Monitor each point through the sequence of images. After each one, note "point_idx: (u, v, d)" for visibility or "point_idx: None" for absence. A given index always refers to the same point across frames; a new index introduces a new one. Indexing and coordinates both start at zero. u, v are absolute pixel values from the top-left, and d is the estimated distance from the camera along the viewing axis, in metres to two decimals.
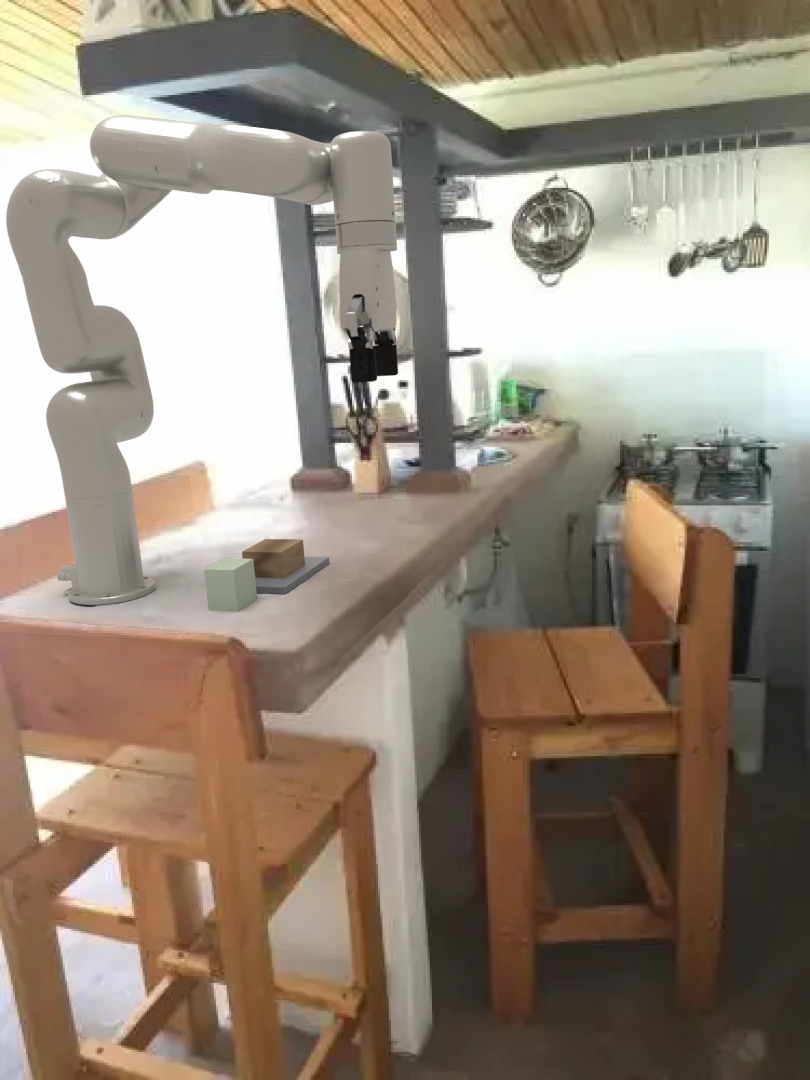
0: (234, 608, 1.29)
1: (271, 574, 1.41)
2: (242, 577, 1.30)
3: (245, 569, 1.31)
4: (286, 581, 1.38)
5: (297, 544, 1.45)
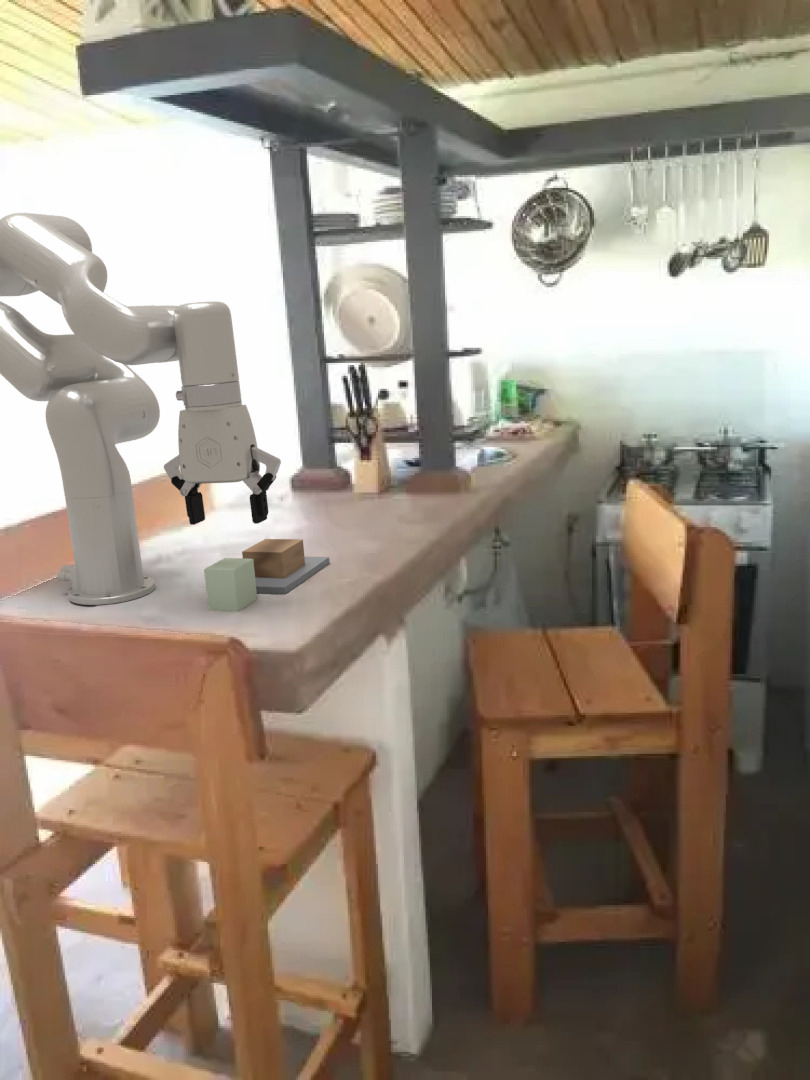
0: (234, 608, 1.29)
1: (271, 574, 1.41)
2: (242, 577, 1.30)
3: (245, 569, 1.31)
4: (286, 581, 1.38)
5: (297, 544, 1.45)
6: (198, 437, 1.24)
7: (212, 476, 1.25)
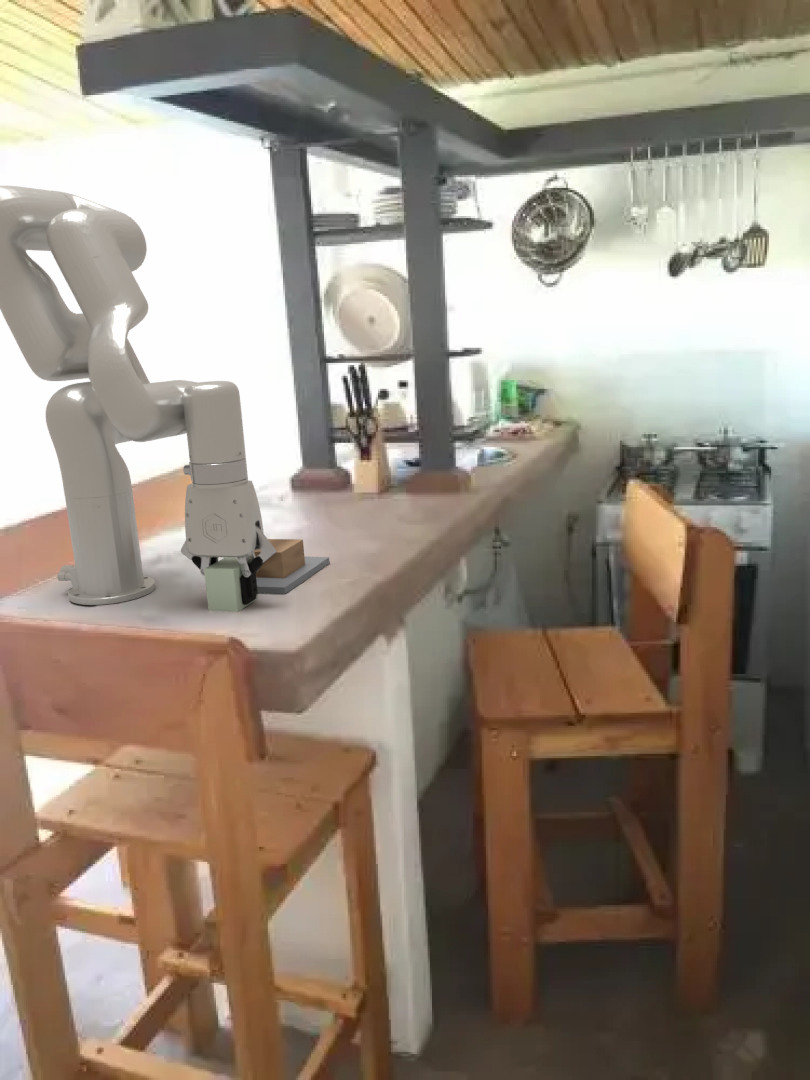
0: (234, 608, 1.29)
1: (271, 574, 1.41)
2: None
3: None
4: (286, 581, 1.38)
5: (297, 544, 1.45)
6: (204, 513, 1.27)
7: (217, 551, 1.28)
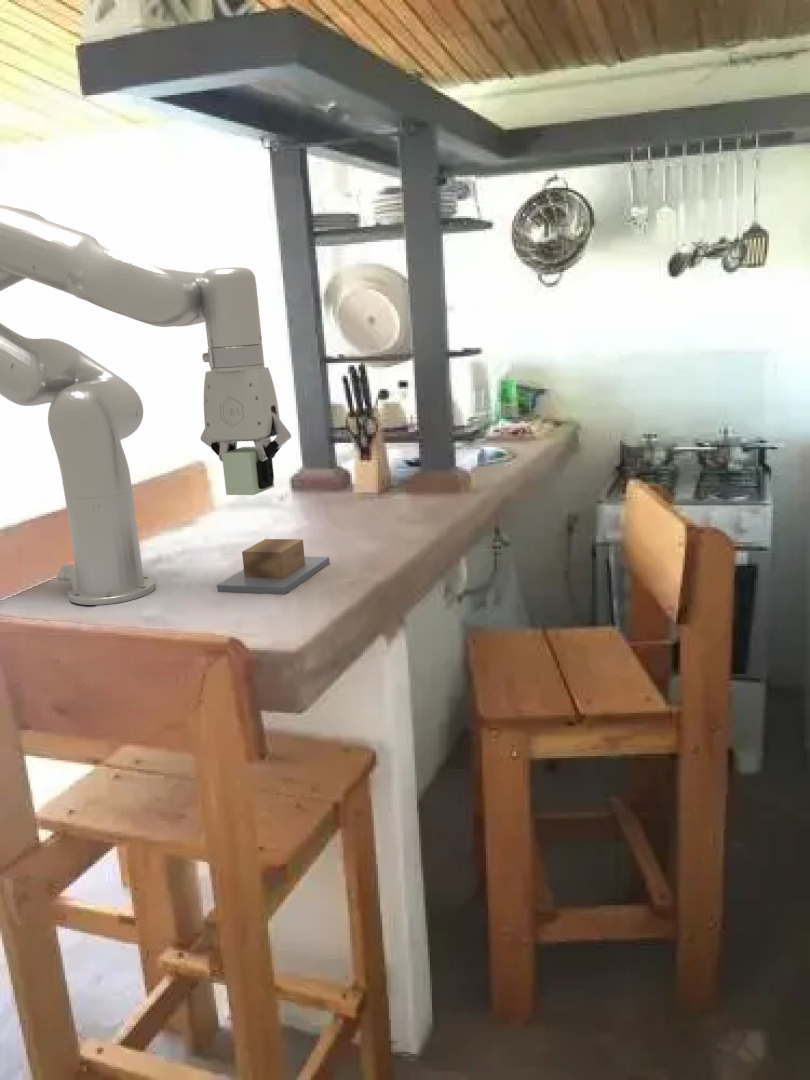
0: (250, 491, 1.32)
1: (271, 574, 1.41)
2: None
3: None
4: (286, 581, 1.38)
5: (297, 544, 1.45)
6: (222, 397, 1.31)
7: (234, 434, 1.31)
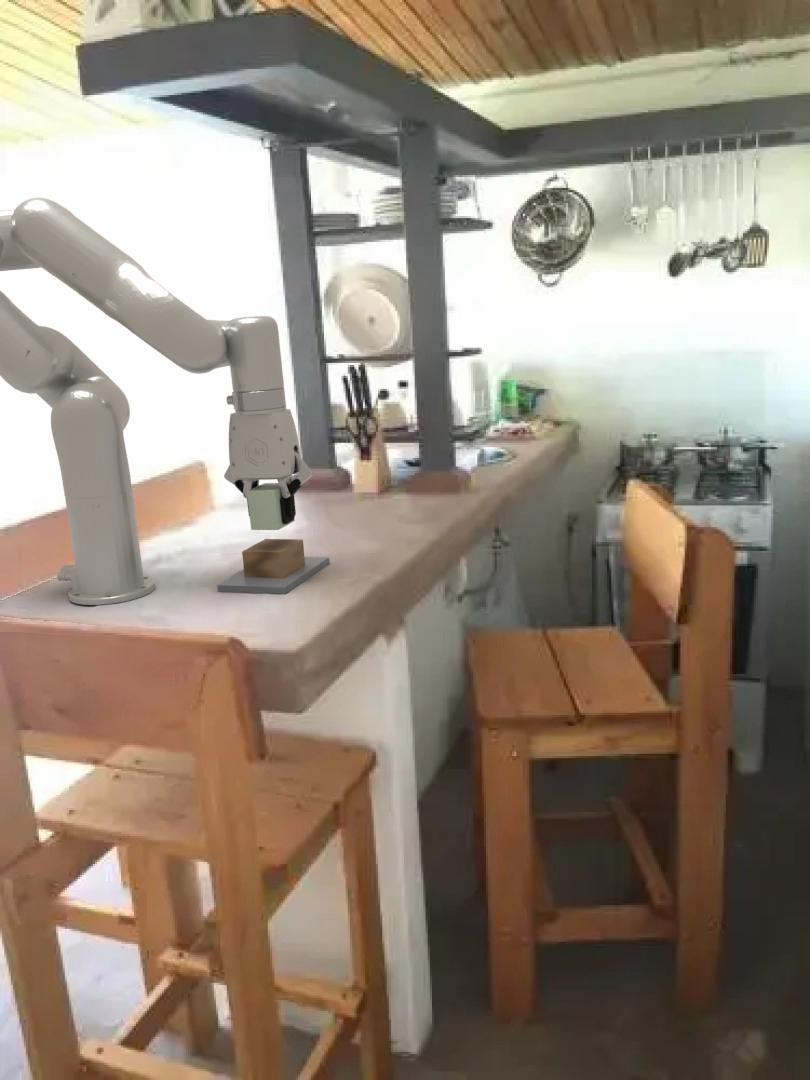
0: (275, 526, 1.40)
1: (271, 574, 1.41)
2: None
3: None
4: (286, 581, 1.38)
5: (297, 544, 1.45)
6: (247, 438, 1.38)
7: (259, 473, 1.39)
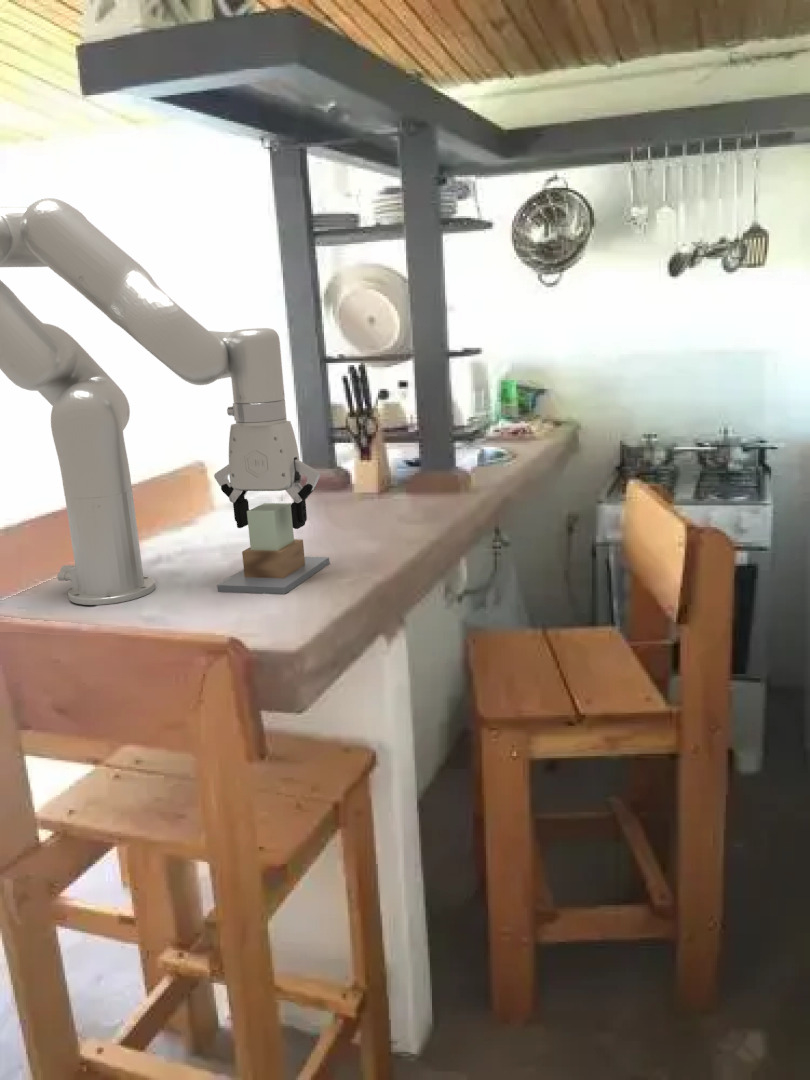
0: (274, 547, 1.40)
1: (271, 574, 1.41)
2: (281, 519, 1.42)
3: (284, 512, 1.42)
4: (286, 581, 1.38)
5: (297, 544, 1.45)
6: (247, 449, 1.38)
7: (259, 485, 1.39)
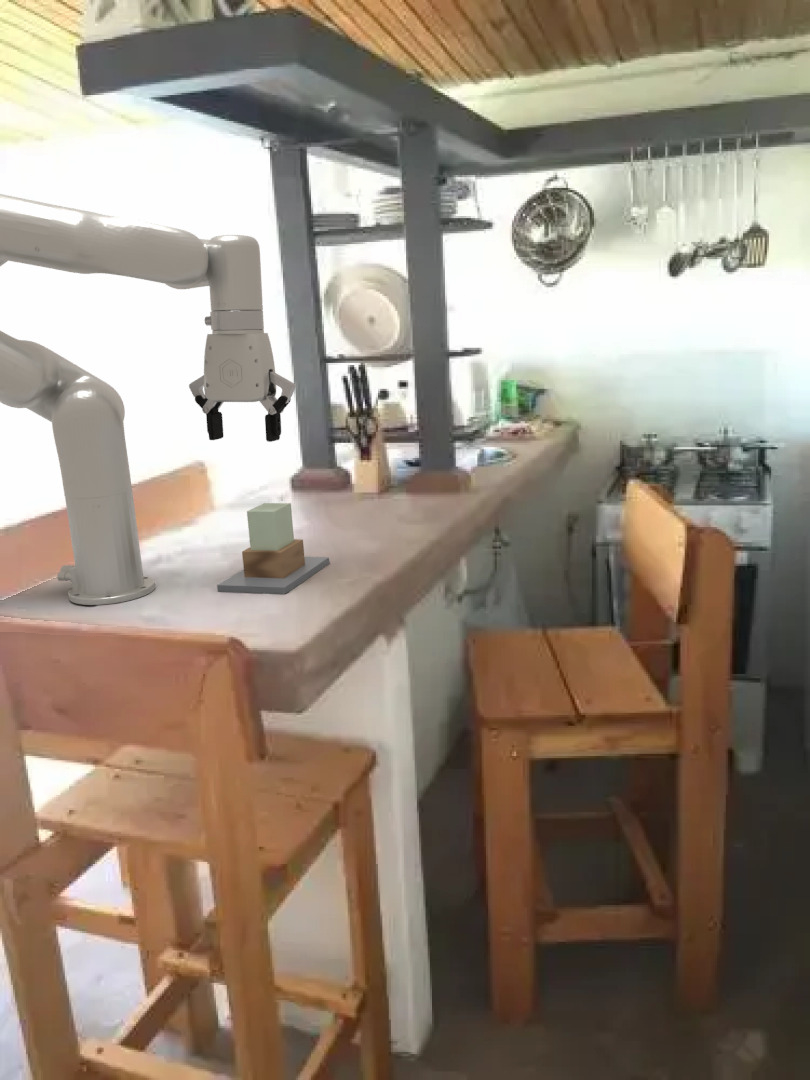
0: (274, 547, 1.40)
1: (271, 574, 1.41)
2: (281, 519, 1.42)
3: (284, 512, 1.42)
4: (286, 581, 1.38)
5: (297, 544, 1.45)
6: (222, 359, 1.37)
7: (232, 395, 1.37)
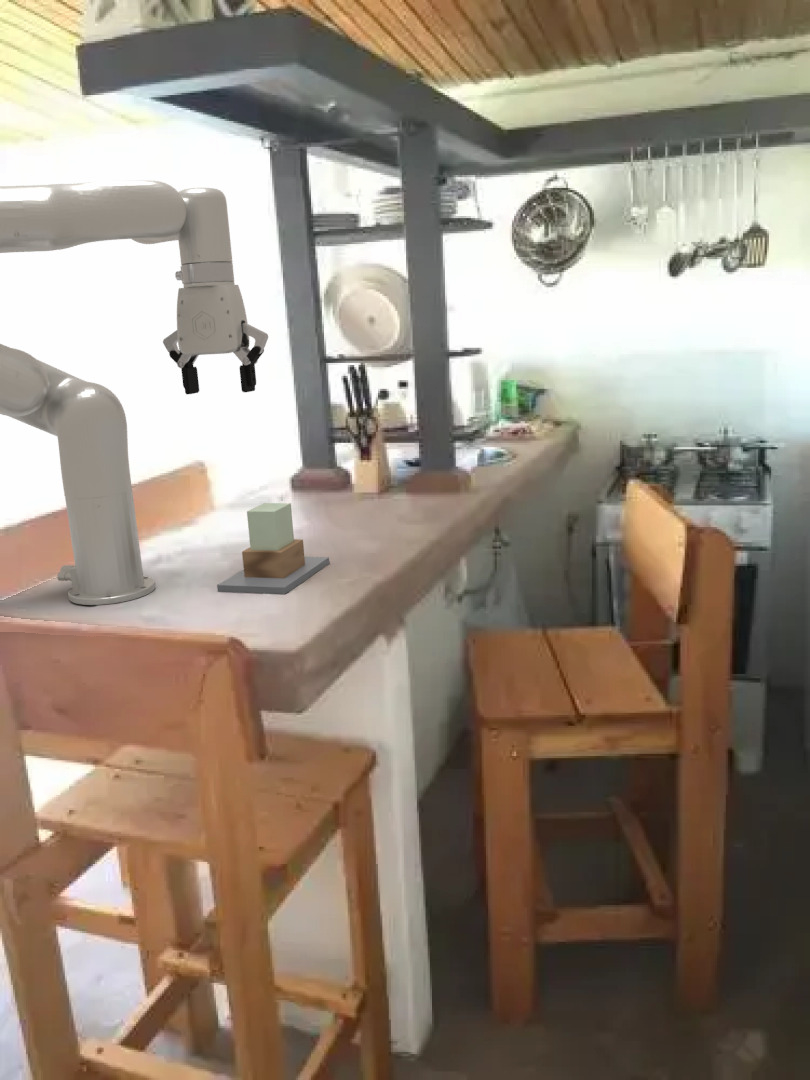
0: (274, 547, 1.40)
1: (271, 574, 1.41)
2: (281, 519, 1.42)
3: (284, 512, 1.42)
4: (286, 581, 1.38)
5: (297, 544, 1.45)
6: (194, 312, 1.39)
7: (206, 347, 1.39)
